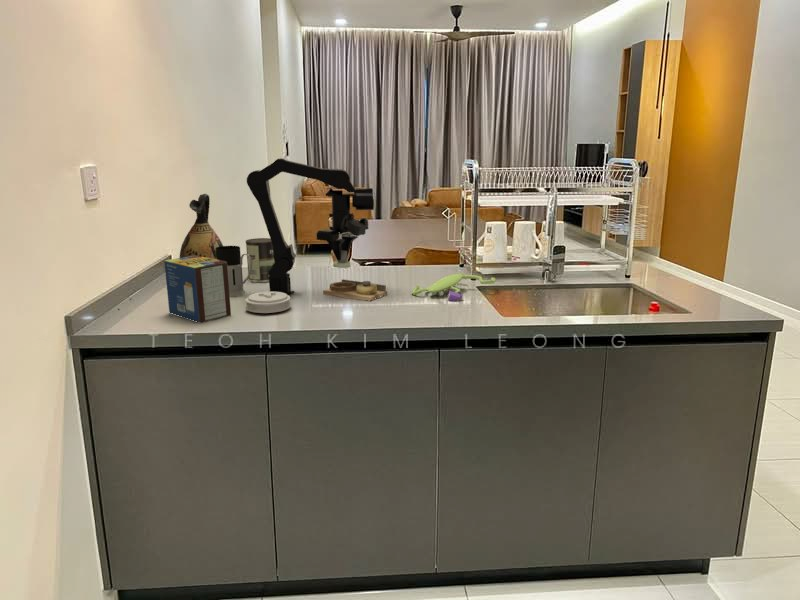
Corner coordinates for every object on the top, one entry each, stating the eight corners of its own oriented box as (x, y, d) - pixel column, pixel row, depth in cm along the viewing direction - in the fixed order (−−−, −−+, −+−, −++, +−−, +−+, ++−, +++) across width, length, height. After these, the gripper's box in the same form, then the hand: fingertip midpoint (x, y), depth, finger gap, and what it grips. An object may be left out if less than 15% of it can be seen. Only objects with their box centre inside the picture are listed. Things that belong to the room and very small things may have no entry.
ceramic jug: (219, 285, 207) (213, 196, 200) (174, 285, 208) (166, 196, 200) (234, 274, 224) (228, 192, 216) (192, 274, 224) (185, 192, 216)
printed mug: (280, 276, 221) (278, 237, 217) (274, 282, 211) (271, 242, 207) (252, 276, 221) (249, 237, 218) (244, 282, 211) (241, 242, 208)
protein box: (200, 306, 181) (196, 254, 177) (231, 315, 171) (227, 261, 167) (168, 313, 173) (162, 260, 169) (199, 323, 163) (194, 267, 159)
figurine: (503, 292, 199) (504, 275, 197) (446, 306, 182) (446, 288, 180) (462, 283, 212) (462, 267, 211) (405, 294, 195) (405, 277, 194)
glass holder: (231, 289, 201) (228, 244, 198) (263, 294, 194) (260, 248, 191) (211, 294, 194) (207, 248, 190) (243, 300, 187) (240, 252, 183)
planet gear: (343, 268, 191) (344, 252, 190) (330, 266, 194) (330, 250, 193) (353, 266, 196) (353, 251, 194) (340, 264, 198) (340, 249, 197)
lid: (243, 306, 181) (242, 290, 179) (286, 303, 185) (285, 287, 184) (249, 318, 169) (248, 300, 168) (294, 313, 173) (293, 296, 172)
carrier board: (369, 301, 186) (369, 286, 185) (323, 294, 195) (322, 280, 194) (387, 294, 194) (387, 280, 193) (341, 287, 203) (341, 274, 202)
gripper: (344, 214, 179) (345, 266, 182) (378, 209, 194) (379, 257, 198) (314, 212, 184) (316, 263, 188) (350, 207, 200) (351, 254, 203)
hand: (342, 259), depth 194 cm, fingers closed on planet gear, 3 cm apart
